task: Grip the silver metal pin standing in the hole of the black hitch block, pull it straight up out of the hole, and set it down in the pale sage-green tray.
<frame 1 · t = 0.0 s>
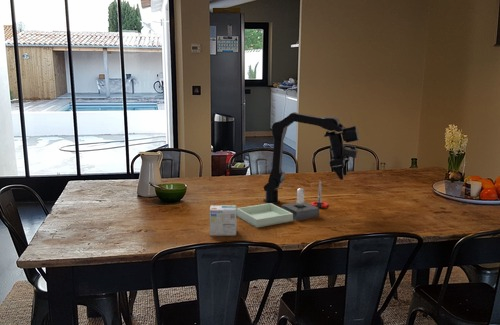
hand: (343, 177, 229), 15 cm above the table, tool pointing down, fingers open, 9 cm apart
pin: (300, 202, 222), in the hitch block
hitch block: (299, 214, 223), on the table
tray: (264, 218, 218), on the table
light bulb box: (223, 233, 199), on the table
tow hook: (319, 206, 238), on the table
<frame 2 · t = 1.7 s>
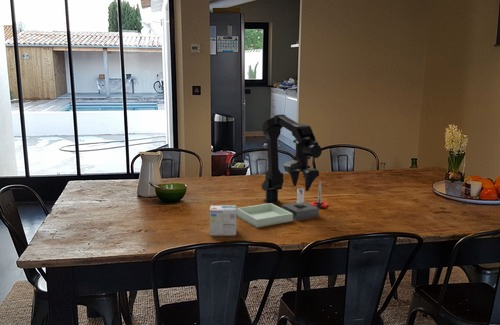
hand: (300, 188, 221), 12 cm above the table, tool pointing down, fingers open, 9 cm apart
nothing on the table moved.
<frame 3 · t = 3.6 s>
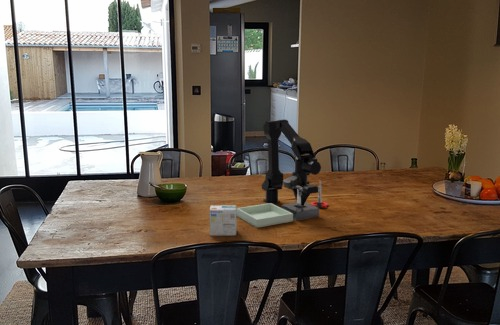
hand: (300, 204, 222), 5 cm above the table, tool pointing down, fingers closed on pin, 3 cm apart
pin: (300, 202, 222), in the hitch block, touching gripper
everything else where it was.
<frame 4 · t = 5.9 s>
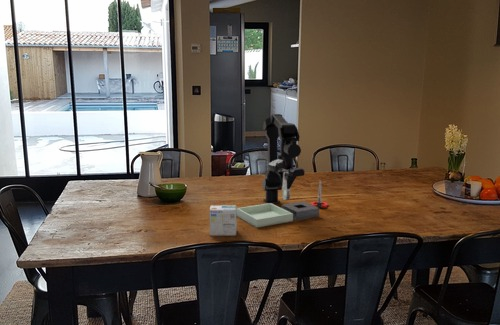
hand: (286, 188, 218), 13 cm above the table, tool pointing down, fingers closed on pin, 3 cm apart
pin: (286, 185, 218), point 14 cm above the table, touching gripper
everything else where it was.
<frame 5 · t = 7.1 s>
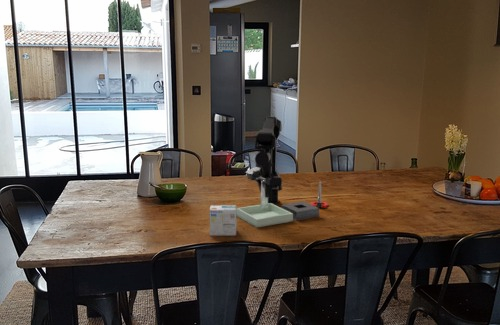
hand: (264, 196, 216), 10 cm above the table, tool pointing down, fingers closed on pin, 3 cm apart
pin: (264, 194, 215), point 11 cm above the table, touching gripper
everything else where it was.
when the fingers open (7 cm above the table, at t = 8.3 s): pin drops 1 cm, resting on tray.
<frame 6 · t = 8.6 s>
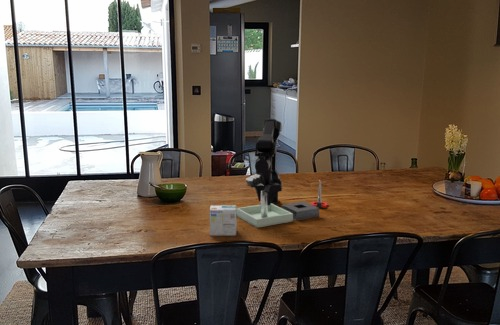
hand: (264, 203, 216), 7 cm above the table, tool pointing down, fingers open, 7 cm apart
pin: (264, 203, 216), in the tray, point 7 cm above the table
everything else where it was.
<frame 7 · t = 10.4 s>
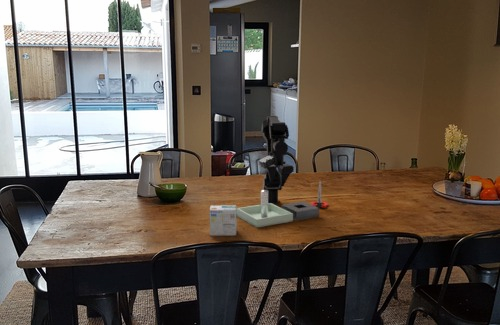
hand: (276, 183, 226), 13 cm above the table, tool pointing down, fingers open, 9 cm apart
nothing on the table moved.
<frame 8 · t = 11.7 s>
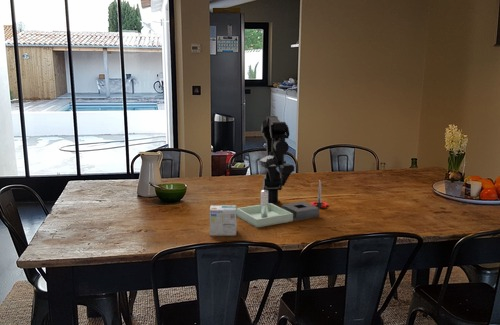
hand: (277, 183, 226), 13 cm above the table, tool pointing down, fingers open, 9 cm apart
nothing on the table moved.
at the end: pin inside the target area on the tray (0.0 cm from its centre), point 6.6 cm above the tray's base; pin moved 17.3 cm from its start; the gripper is holding nothing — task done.
